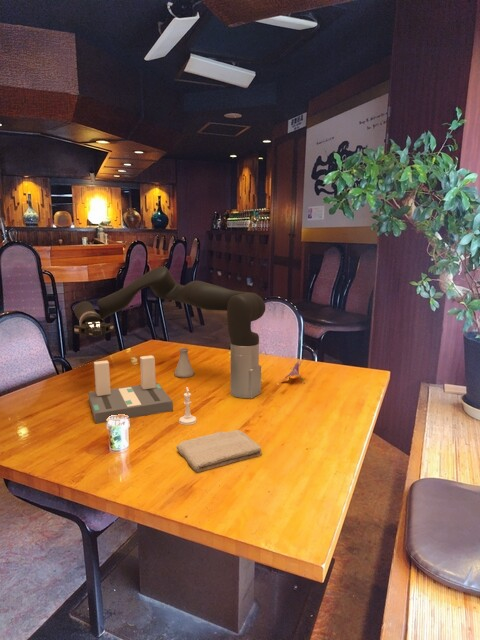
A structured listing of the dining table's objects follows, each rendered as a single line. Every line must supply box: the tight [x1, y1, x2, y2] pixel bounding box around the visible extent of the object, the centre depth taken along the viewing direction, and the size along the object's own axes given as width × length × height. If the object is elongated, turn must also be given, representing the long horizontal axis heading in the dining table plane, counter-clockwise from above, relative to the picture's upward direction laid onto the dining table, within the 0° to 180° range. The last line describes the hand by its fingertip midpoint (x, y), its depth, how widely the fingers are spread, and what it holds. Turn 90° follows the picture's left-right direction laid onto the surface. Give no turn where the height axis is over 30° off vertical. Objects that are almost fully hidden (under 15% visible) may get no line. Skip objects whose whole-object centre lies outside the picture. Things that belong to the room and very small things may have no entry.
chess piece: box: [178, 386, 197, 426], centre depth 120 cm, size 5×5×10 cm
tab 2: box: [139, 355, 157, 390], centre depth 138 cm, size 3×4×10 cm
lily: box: [281, 359, 306, 384], centre depth 154 cm, size 11×11×9 cm
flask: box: [173, 348, 195, 379], centre depth 160 cm, size 7×7×10 cm
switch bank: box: [87, 382, 174, 424], centre depth 132 cm, size 18×22×3 cm
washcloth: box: [176, 429, 262, 473], centre depth 104 cm, size 12×18×3 cm, turn 119°
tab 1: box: [93, 360, 111, 396], centre depth 132 cm, size 3×4×10 cm
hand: (97, 333), depth 135 cm, fingers closed
